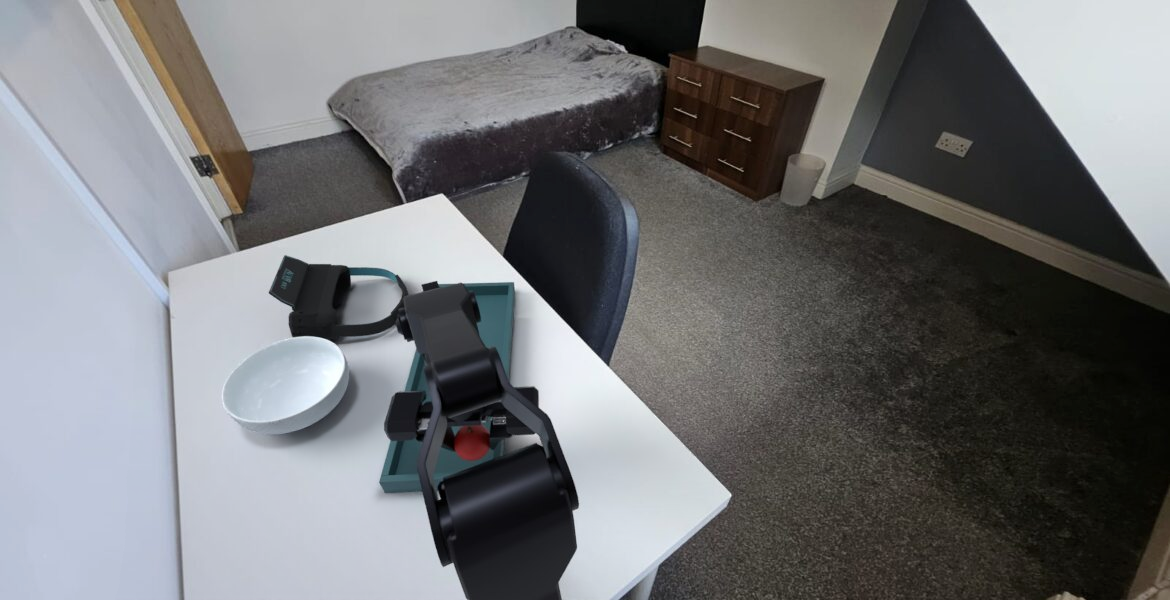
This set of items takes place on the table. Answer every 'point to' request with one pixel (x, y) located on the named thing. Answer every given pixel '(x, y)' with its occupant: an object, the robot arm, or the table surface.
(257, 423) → the cereal bowl
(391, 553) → the table surface
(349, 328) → the virtual reality headset
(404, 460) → the tray
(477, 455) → the apple
